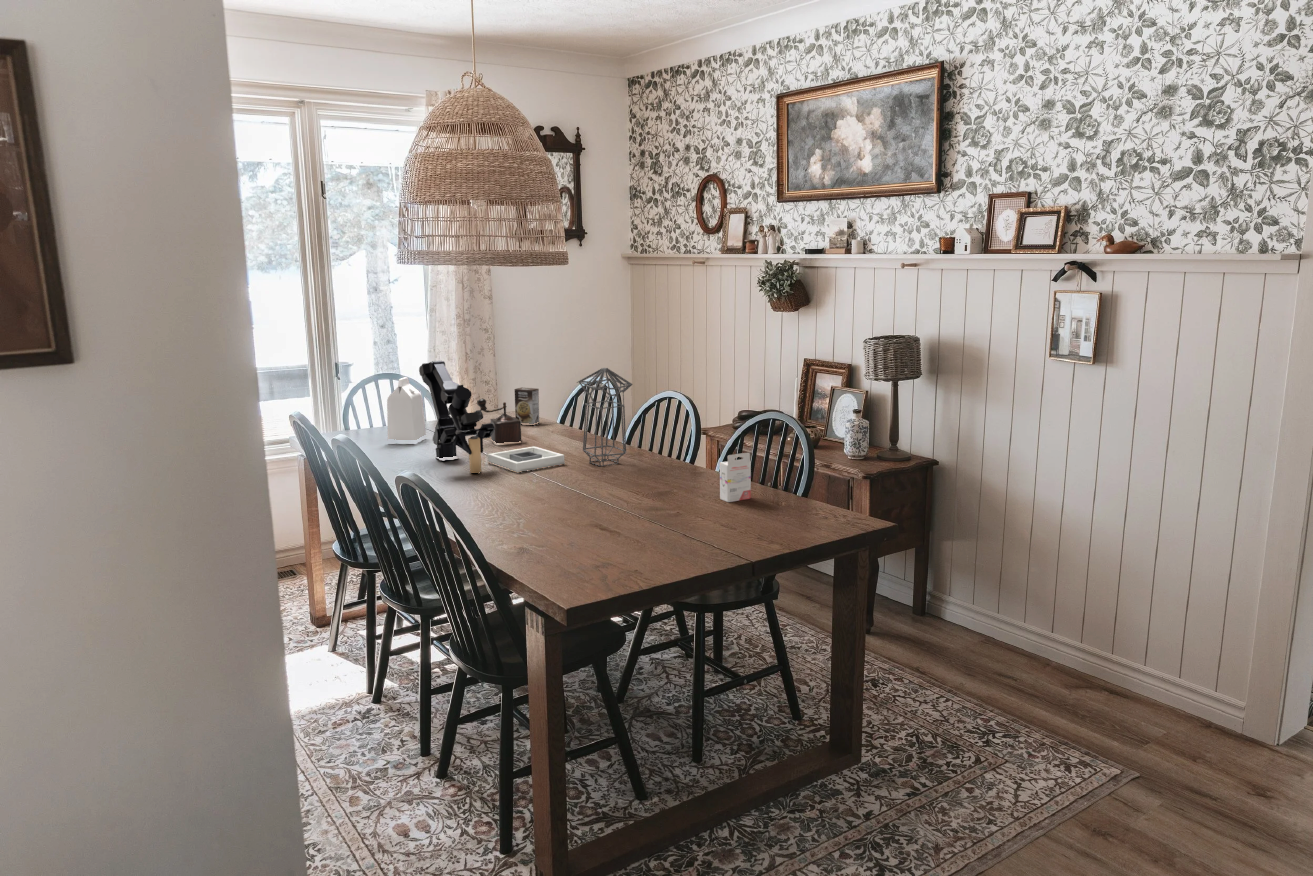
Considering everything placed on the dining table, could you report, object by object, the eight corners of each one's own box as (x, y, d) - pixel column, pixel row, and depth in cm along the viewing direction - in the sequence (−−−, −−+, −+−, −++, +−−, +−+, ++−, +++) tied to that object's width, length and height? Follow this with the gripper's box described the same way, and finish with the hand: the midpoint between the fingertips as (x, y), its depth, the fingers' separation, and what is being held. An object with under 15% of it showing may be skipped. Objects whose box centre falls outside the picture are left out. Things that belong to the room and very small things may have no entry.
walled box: (534, 455, 343) (534, 446, 342) (564, 464, 328) (564, 454, 327) (487, 463, 330) (487, 454, 330) (516, 473, 315) (516, 463, 315)
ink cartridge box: (742, 495, 285) (742, 449, 282) (751, 499, 280) (751, 452, 277) (719, 498, 281) (719, 452, 278) (727, 502, 276) (727, 455, 273)
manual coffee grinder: (515, 438, 374) (513, 395, 370) (522, 443, 364) (520, 399, 360) (477, 442, 368) (475, 398, 364) (483, 447, 358) (481, 402, 354)
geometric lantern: (611, 456, 340) (612, 363, 332) (634, 465, 327) (635, 369, 319) (574, 461, 331) (574, 366, 324) (595, 471, 318) (596, 372, 311)
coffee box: (515, 424, 404) (513, 389, 401) (522, 422, 410) (521, 387, 407) (533, 426, 401) (531, 390, 397) (540, 423, 406) (538, 387, 403)
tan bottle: (478, 470, 318) (476, 435, 315) (483, 472, 315) (482, 436, 312) (467, 472, 315) (465, 436, 313) (473, 474, 312) (471, 438, 310)
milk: (400, 438, 377) (395, 376, 372) (426, 438, 376) (422, 376, 370) (387, 444, 366) (383, 380, 360) (415, 444, 364) (410, 380, 359)
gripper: (442, 406, 308) (458, 443, 301) (491, 400, 319) (508, 435, 313) (433, 425, 315) (449, 462, 309) (482, 419, 327) (498, 454, 320)
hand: (476, 453), depth 313 cm, fingers closed on tan bottle, 4 cm apart
